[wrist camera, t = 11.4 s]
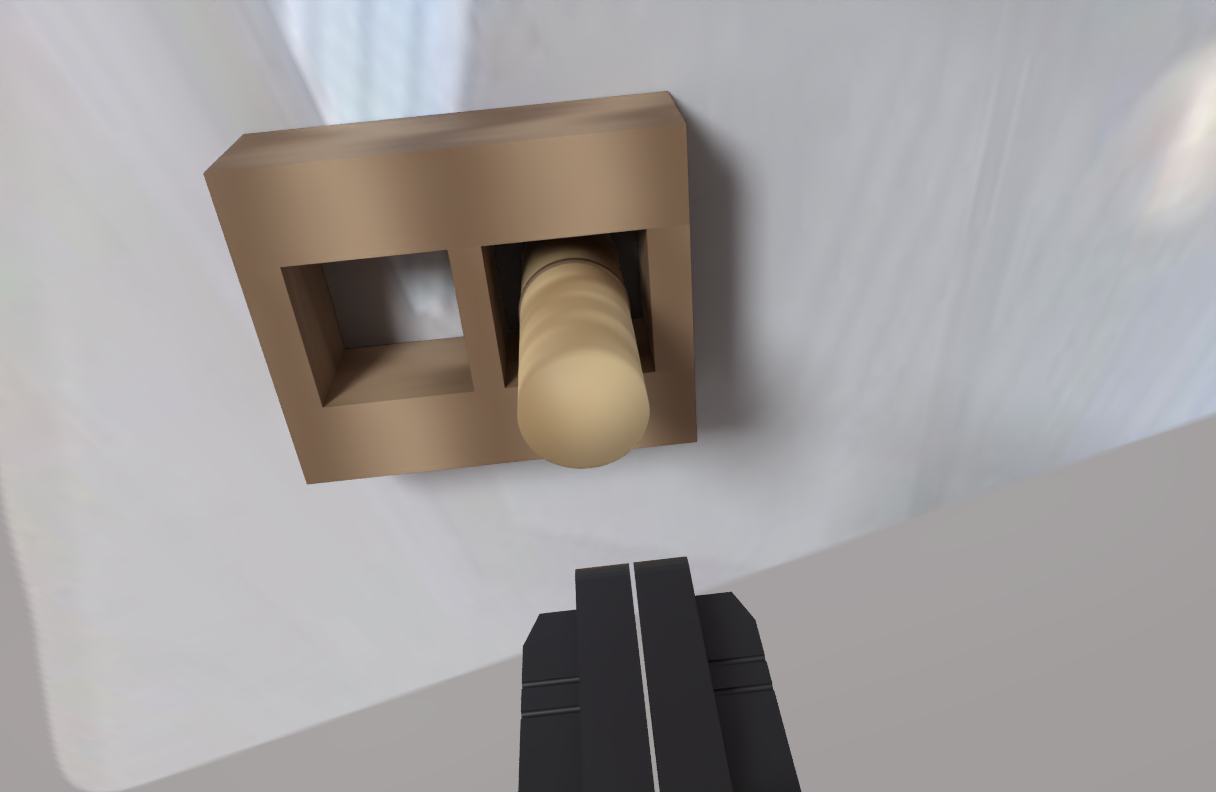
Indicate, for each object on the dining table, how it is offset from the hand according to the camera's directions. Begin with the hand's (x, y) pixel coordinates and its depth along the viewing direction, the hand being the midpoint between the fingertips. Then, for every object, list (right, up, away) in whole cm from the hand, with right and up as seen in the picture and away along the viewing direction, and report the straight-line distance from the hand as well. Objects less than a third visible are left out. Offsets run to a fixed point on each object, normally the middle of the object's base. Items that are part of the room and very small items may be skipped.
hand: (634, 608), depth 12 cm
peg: (-2, +8, +19) cm, 21 cm away
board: (-5, +7, +19) cm, 21 cm away
